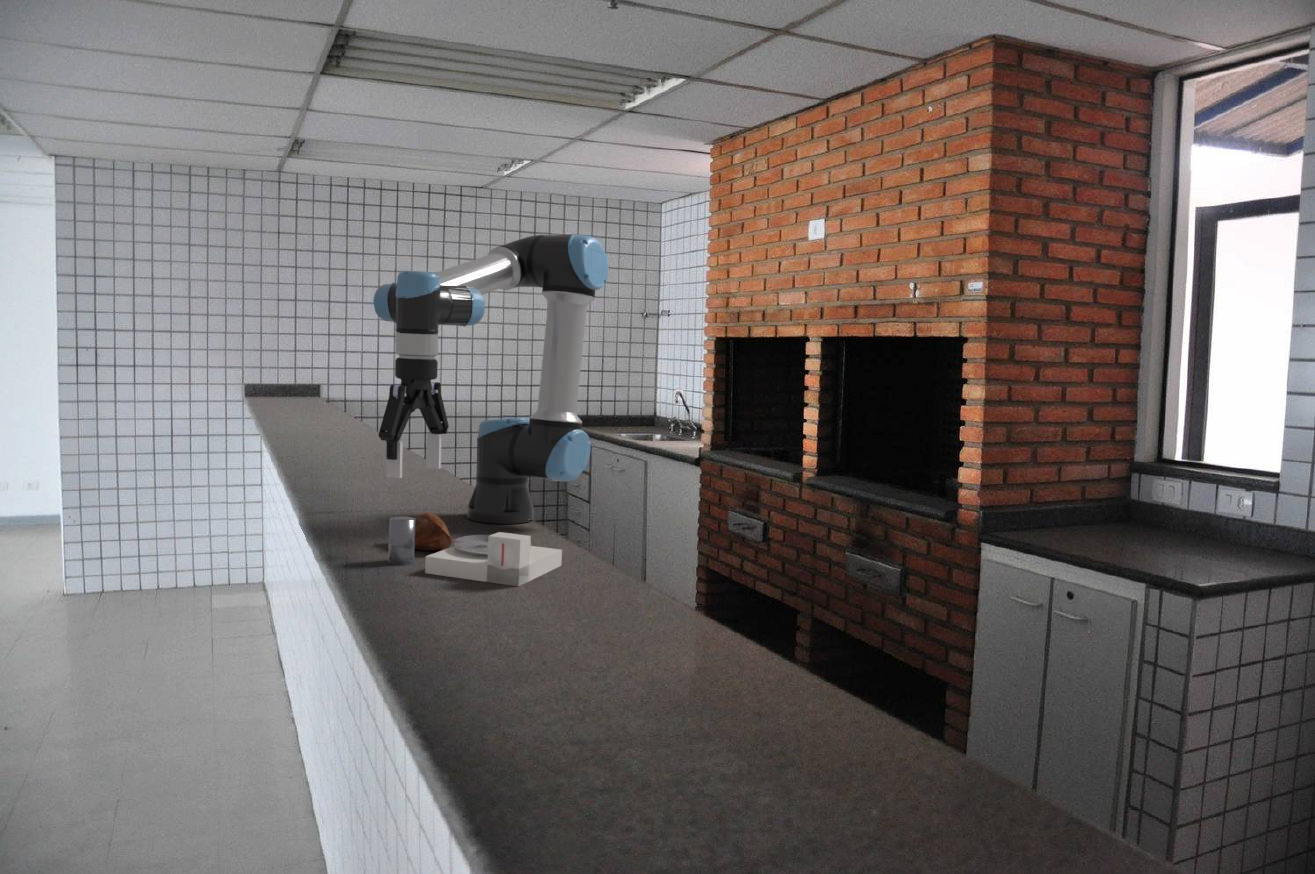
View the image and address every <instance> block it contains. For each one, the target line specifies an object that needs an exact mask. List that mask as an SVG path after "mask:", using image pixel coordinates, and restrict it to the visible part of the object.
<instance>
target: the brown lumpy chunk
mask: <svg viewBox="0 0 1315 874" xmlns="http://www.w3.org/2000/svg"><path fill="white" fill-rule="evenodd" d="M405 517H413V518H415V519H416V525H415V550H416V549H417V550H421V551H427V552H428V551H429V552H432V551H438V550H439V551H441V550H445V549H448V548H451V545H452V544H453V543H452V537H451V533H450V531H449V529H448V526H447V525H446V523H445V522H444V521H443V520H442V519H441V517H439V516H438V515H437V514H434V513H432V512H426V513H424V514H418V515H407V516H406V515H405Z"/></svg>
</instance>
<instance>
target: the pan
mask: <svg viewBox="0 0 1315 874" xmlns="http://www.w3.org/2000/svg"><path fill="white" fill-rule="evenodd" d="M490 535H491V534H473V535H471V534H470V535H465V536H461V537H458V538H456V539H454V540H453V543H452V544H453V546H452V547H454V548H455V549H457V550H459V551H462V552H467V553H472V554H481V555H488V536H490ZM531 546H532V541H531V542H530V549H531Z"/></svg>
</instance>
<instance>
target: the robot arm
mask: <svg viewBox="0 0 1315 874" xmlns="http://www.w3.org/2000/svg"><path fill="white" fill-rule="evenodd" d="M608 277H609V261H608V256H607V253H606V250H604V246H603V245H602V244H601V242H600V241H599V240H598V239H596V238H595V237H593V236H591V235H583V234H582V235H581V234H577V233H575V234H552V235H551V234H550V235H549V234H546V235H545V234H538V235H536V234H535V235H531V236H526V237H522V238H520V239H516V240H514V241H511V242H508V243H506V244H502V245H498V246H496V247H494V248H492V249H491V250H490V251H488V253H487V255H484V256H481V257H479V258H474V259H473V260H469V261H466V262H464V263H461V264H458V265H454V266H452V267H449V268H445V269H443V270H439V271H437V272H429V271H420V270H419V271H417V270H416V271H414V270H413V271H412V270H403V271H400V272H399V273H398V275H397V277H396V279H397V280H396V282H392V283H384V284H381V286H378V288H377V289H376V291H375V292H374V295H373V308H374V311H375V314H376V315H377V317H379V318H380V319H381V320H383V321H385V322H390V323H394V324H395V332H396V333H395V355H396V356H397V355H398V357H396V359H394V362H395V363H394V364H395V365H394V366H395V367H394V376H395V378H397V379H400V385H398V384H390V386H389V390H388V391H389V394H388V400H387V403H386V406H385V410H384V414H383V416H382V421H381V424H380V428H379V431H378V438H379V439H380V440H381V441H383V442H384V441H385V442H386V452H385V453H386V472H385V473H386V478H393V479H402V478H403V445H404V443H403V441H401V438H402V435H403V433H404V431H405V428H406V426H407V423H408V422H409V420H410V418H411V415H412V413H414V412H415V411H416V410H417V409H419V411H420V413H421V415H422V418H423V421H424V422H425V425H426V427H427V428H428V430H429V433H426V455H425V456H426V461H425V462H426V464H425V465H426V466H425V467H426V468H427V469H428V468H429V469H437V470H439V469H441V468H442V435H446V434H448V430H449V421H448V417H447V413H446V409H445V408H446V407H445V405H444V401H443V397H442V385H441V382H438V381H437V382H436V381H435V382H434V381H433V380H436V379H437V378H438V369H439V367H438V360H437V359H436V358H435V357H437V356H438V355H439V326H440V325H441V326H458V327H459V326H460V327H467V326H474V325H476V324H478V323H479V322H481V320H482V318H484V314H485V313H486V301H485V298H484V295H486V294H489V293H492V292H494V291H496V290H499V289H500V290H503V291H509V290H513V289H515V288H528V287H529V288H542V292H541V294H542V295H543V297H544V299H545V300H546V301H547V309H546V321H545V330H544V331H545V332H544V341H543V342H544V343H543V350H542V361H541V371H540V381H539V382H540V383H539V391H538V400H537V402H538V403H537V410H536V411H535V412H534V413H532V414H531V415H530V416H529V417H514V418H497V419H496V418H495V419H485V420H482V421H481V422H480V423H479V425H478V432H477V437H476V442H477V443H476V472H475V473H476V479H475V480H476V481H475V486H474V488H473V489H474V490H473V491H472V495H471V497H470V500H469V503H468V505H467V511H466V517H467V519H468V520H470V521H474V522H478V523H486V524H498V525H499V524H500V525H504V524H506V525H509V524H511V525H513V524H522V523H523V524H524V523H529V522H530V521H529V520H528V519H530V520H532V521H533V520H534V519H535V518H534V516H535V509H534V505H533V502H532V498H531V494H530V490H529V486H528V481H529V480H528V479H529V477H530V478H535V479H542V480H549V481H551V482H571V481H573V480H575V479H577V478H579V476H580V475H581V473H582V472H584V470H585V469H586V467H587V465H588V463H589V458H590V456H591V450H592V449H591V441H590V436H589V435H588V433H587V432H585V431H584V430H583V429H582V427H583V421H582V420H581V418H580V417H579V416H578V415H577V409H578V398H579V389H580V381H581V380H580V378H581V370H582V369H581V368H582V357H583V348H584V337H585V329H586V328H585V327H586V320H587V318H586V317H587V310H588V309H587V308H588V306H589V305H590V304H591V303H592V302H593V301H594V300H595V298H596V297H595V296H596V291H598V290H600V289H602V288H603V287H604V286H605V283H607V280H608ZM432 381H433V382H432Z"/></svg>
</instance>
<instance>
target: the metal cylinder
mask: <svg viewBox="0 0 1315 874" xmlns="http://www.w3.org/2000/svg"><path fill="white" fill-rule="evenodd" d="M388 525H389V527H388V552H387V553H388V558H387V563H388V564H389V565H392V566H393V565H394V566H407V565H413V564H414V563H415V553H416V551H415V550H416V548H415V525H416V519H415V518H413V517H406V516H392V517H389V523H388Z"/></svg>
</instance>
